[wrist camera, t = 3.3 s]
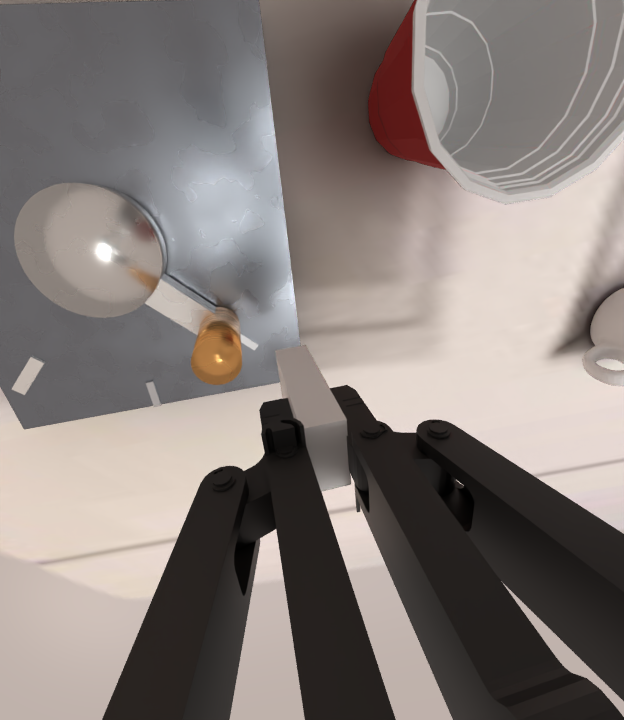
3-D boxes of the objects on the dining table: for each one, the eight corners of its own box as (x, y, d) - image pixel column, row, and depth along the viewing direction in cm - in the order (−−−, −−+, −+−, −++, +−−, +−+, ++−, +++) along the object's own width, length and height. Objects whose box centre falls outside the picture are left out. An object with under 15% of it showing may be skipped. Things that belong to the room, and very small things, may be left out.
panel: (-174, 25, 16) (-216, 7, 15) (256, 12, 19) (258, -4, 17) (34, 417, 26) (22, 431, 24) (300, 369, 28) (304, 378, 27)
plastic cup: (321, 197, 24) (394, 195, 13) (334, -19, 19) (464, -298, 8) (463, 207, 26) (627, 212, 15) (504, 15, 21) (776, -169, 11)
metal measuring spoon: (11, 261, 20) (-74, 285, 14) (70, 154, 18) (1, 134, 13) (208, 373, 25) (201, 422, 20) (266, 296, 24) (276, 324, 18)
